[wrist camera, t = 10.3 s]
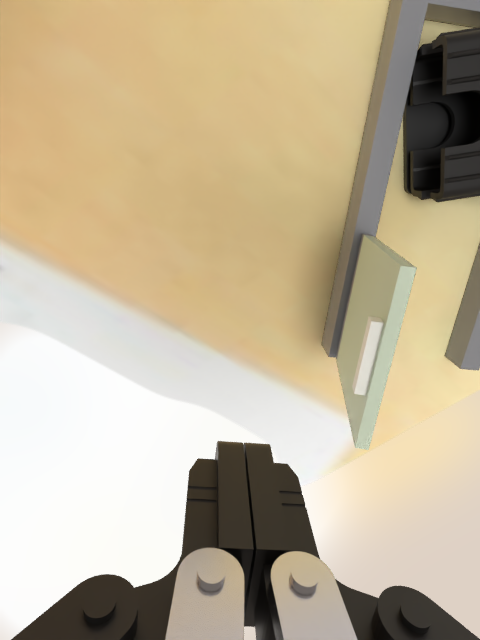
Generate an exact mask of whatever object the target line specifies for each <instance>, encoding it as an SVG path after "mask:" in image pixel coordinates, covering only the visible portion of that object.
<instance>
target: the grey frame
mask: <svg viewBox="0 0 480 640" xmlns="http://www.w3.org/2000/svg"><path fill="white" fill-rule="evenodd" d="M424 20H431V21H437V22H444V23H450V24H456V25H462V26H468V27H475V28H479V27H480V0H390V4H389V9H388V14H387V19H386V24H385V29H384V34H383V39H382V44H381V49H380V54H379V59H378V64H377V69H376V74H375V79H374V84H373V89H372V94H371V99H370V104H369V109H368V114H367V119H366V124H365V129H364V134H363V139H362V144H361V149H360V154H359V159H358V164H357V169H356V174H355V179H354V184H353V189H352V194H351V199H350V204H349V209H348V214H347V219H346V224H345V229H344V234H343V239H342V244H341V249H340V254H339V259H338V264H337V269H336V274H335V279H334V284H333V289H332V294H331V299H330V304H329V309H328V314H327V319H326V324H325V329H324V334H323V339H322V344H321V345H322V346H323V348H324V350H325V351H326V353H327V355H328V357H336V355H337V350H338V346H339V341H340V336H341V332H342V327H343V322H344V318H345V313H346V308H347V304H348V299H349V294H350V290H351V285H352V280H353V276H354V271H355V267H356V262H357V257H358V253H359V248H360V243H361V239H362V234H370V235H373V236H374V237H376V232H377V228H378V223H379V219H380V215H381V210H382V206H383V201H384V197H385V192H386V188H387V184H388V179H389V175H390V170H391V166H392V161H393V157H394V153H395V148H396V144H397V139H398V135H399V130H400V126H401V122H402V117H403V113H404V108H405V104H406V99H407V95H408V90H409V86H410V82H411V77H412V73H413V68H414V64H415V59H416V55H417V51H418V46H419V42H420V37H421V33H422V28H423V24H424ZM445 356H446V357H447V358H448V359H449V360H450V361H452V362H453V363H454V364H455V365H456V366H458V367H459V368H460V369H468V370H479V368H480V244H479V248H478V251H477V254H476V257H475V261H474V264H473V267H472V270H471V273H470V277H469V280H468V283H467V286H466V290H465V293H464V296H463V299H462V302H461V306H460V309H459V312H458V315H457V318H456V322H455V325H454V328H453V331H452V335H451V338H450V341H449V344H448V347H447V351H446V354H445Z"/></svg>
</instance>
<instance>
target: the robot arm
mask: <svg viewBox="0 0 480 640" xmlns="http://www.w3.org/2000/svg"><path fill="white" fill-rule="evenodd" d="M244 626H252V627H254V626H255V629H256V640H480V639H479V638H477V637H476V636H475V635H474V634H473V633H471V632H470V631H469V630H468V629H466V628H465V627H464V626H463V625H462V624H460V623H459V622H458V621H457V620H455V619H454V618H453V617H452V616H450V615H449V614H448V613H447V612H445V611H444V610H443V609H442V608H441V607H439V606H438V605H437V604H436V603H434V602H433V601H432V600H431V599H429V598H428V597H427V596H425V595H424V594H422V593H420V592H419V591H417V590H414V589H412V588H409V587H405V586H392V587H389V588H387V589H385V590H384V591H383V592H382V593H381V595H380V597H379V598H376V597H373V596H371V595H368V594H365V593H362V592H359V591H356V590H354V589H351V588H349V587H347V586H345V585H343V584H341V583H340V582H339V581H337V580H336V579H335V578H334V576H333V573H332V572H331V570H330V569H329V568H328V566H327V565H326V564H325V563H324V562H322V561H321V560H320V558H319V555H318V551H317V547H316V544H315V540H314V536H313V533H312V529H311V525H310V521H309V517H308V514H307V510H306V508H305V502H304V498H303V495H302V491H301V487H300V483H299V480H298V477H297V475H296V474H295V473H294V472H293V470H292V469H291V468H290V467H289V465H288V464H281V463H274V462H273V457H272V452H271V447H270V445H269V444H256V443H244V445H243V443H238V442H222V441H218V442H217V448H216V456H215V460H213V459H197V461H196V462H195V464H194V465H193V466H192V468H191V469H190V471H189V481H188V491H187V502H186V513H185V524H184V535H183V547H182V555H181V557H180V560H179V562H178V564H177V565H176V567H175V568H174V569H173V570H172V571H171V572H170V573H169V574H168V575H166V576H165V577H164V578H162V579H160V580H158V581H155V582H153V583H150V584H146V585H143V586H139V587H136V588H134V587H133V586H132V585H131V584H130V582H128V581H127V580H126V579H124V578H122V577H120V576H116V575H109V574H106V575H99V576H94V577H92V578H89V579H87V580H85V581H83V582H82V583H80V584H79V585H77V586H76V587H75V588H74V589H72V590H71V591H70V592H69V593H67V594H66V595H65V596H64V597H63V598H61V599H60V600H59V601H58V602H57V603H55V604H54V605H53V606H52V607H50V608H49V609H48V610H47V611H46V612H44V614H42V615H41V616H39V617H38V618H37V619H36V620H35V621H33V622H32V623H31V624H30V625H28V626H27V627H26V628H25V629H24V630H22V631H21V632H20V633H19V634H17V635H16V636H15V637H14V638H13V639H11V640H244Z"/></svg>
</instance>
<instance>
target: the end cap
mask: <svg viewBox="0 0 480 640" xmlns="http://www.w3.org/2000/svg"><path fill="white" fill-rule="evenodd" d="M403 128H404V189H405V191H406V192H407V193H410V194H412V195H413V196H416V197H419V198H420V199H421V200H424V199H434V200H435V201H436V202H442V201H449V200H455V199H462V198H468V197H475V196H480V27H479V28H473V29H467V30H460V31H454V32H447V33H441V34H440V35H439V36H438V37H437V39H436V40H434V41H432V43H431V44H424V45H422V46H421V47H420V48H419V50H418V51H417V55H416V59H415V64H414V68H413V73H412V77H411V82H410V86H409V90H408V95H407V99H406V104H405V108H404V113H403Z"/></svg>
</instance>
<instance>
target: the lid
mask: <svg viewBox="0 0 480 640" xmlns="http://www.w3.org/2000/svg"><path fill="white" fill-rule="evenodd" d="M416 269H417V268H416V267H415V266H413V265H412V264H411V263H409V262H408V261H407V260H405V259H404V258H403V257H401V256H400V255H398V254H397V253H396V252H394V251H393V250H392V249H390V248H389V247H388V246H386V245H385V244H384V243H382V242H381V241H380V240H378V239H377V238H376V237H374V236H373V235H370V234H362V239H361V243H360V248H359V253H358V257H357V262H356V267H355V271H354V276H353V280H352V285H351V290H350V294H349V299H348V304H347V308H346V313H345V318H344V322H343V327H342V332H341V336H340V341H339V346H338V350H337V355H336V359H337V366H338V371H339V376H340V380H341V385H342V389H343V394H344V399H345V403H346V408H347V413H348V417H349V422H350V426H351V431H352V436H353V440H354V445H355V448H361V449H366V450H369V446H370V442H371V438H372V435H373V431H374V427H375V423H376V420H377V416H378V412H379V408H380V404H381V401H382V397H383V393H384V389H385V386H386V382H387V378H388V374H389V371H390V367H391V363H392V359H393V355H394V352H395V348H396V344H397V340H398V337H399V333H400V329H401V325H402V321H403V318H404V314H405V310H406V306H407V303H408V299H409V295H410V291H411V288H412V284H413V280H414V276H415V272H416Z"/></svg>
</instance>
